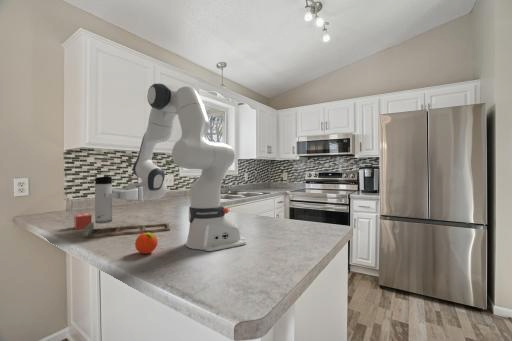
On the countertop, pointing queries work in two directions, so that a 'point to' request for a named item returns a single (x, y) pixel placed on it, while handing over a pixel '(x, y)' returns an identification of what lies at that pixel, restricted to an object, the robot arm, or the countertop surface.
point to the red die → (81, 221)
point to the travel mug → (103, 200)
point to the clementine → (146, 242)
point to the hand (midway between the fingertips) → (101, 195)
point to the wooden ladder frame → (90, 229)
